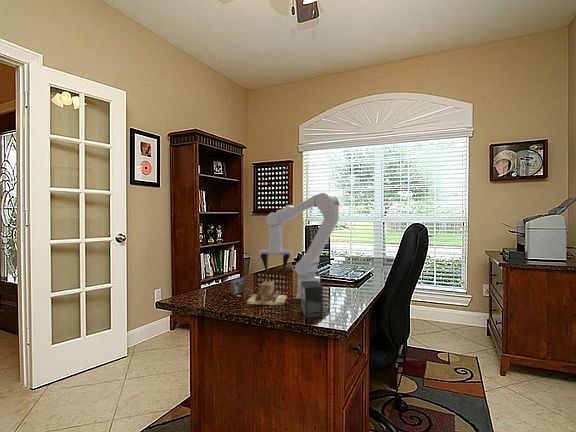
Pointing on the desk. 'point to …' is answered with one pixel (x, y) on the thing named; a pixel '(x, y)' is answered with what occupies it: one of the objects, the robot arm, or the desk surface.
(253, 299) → the post slot base
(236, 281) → the mini dv tape
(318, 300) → the small box
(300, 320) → the desk surface
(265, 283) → the rail end block
